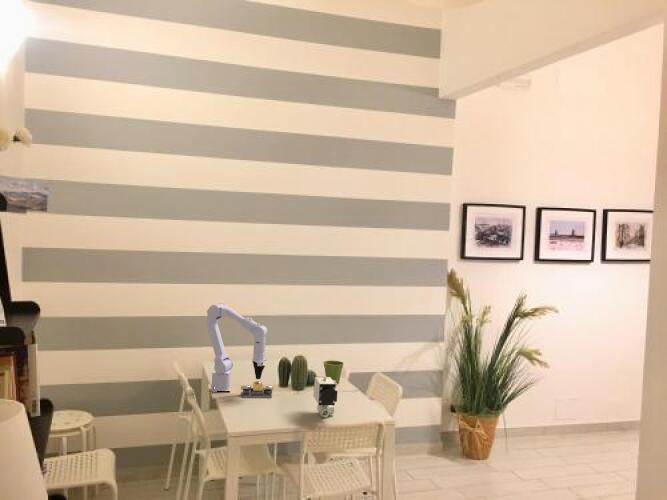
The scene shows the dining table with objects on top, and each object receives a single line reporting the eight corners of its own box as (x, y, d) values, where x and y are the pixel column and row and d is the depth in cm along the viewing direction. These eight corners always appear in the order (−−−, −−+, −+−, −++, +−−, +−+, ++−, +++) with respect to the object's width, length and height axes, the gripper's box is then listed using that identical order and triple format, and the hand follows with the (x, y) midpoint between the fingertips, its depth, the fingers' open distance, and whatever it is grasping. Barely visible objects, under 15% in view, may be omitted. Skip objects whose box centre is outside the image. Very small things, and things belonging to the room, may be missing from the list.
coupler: (253, 394, 301) (253, 383, 301) (252, 391, 305) (253, 380, 304) (262, 394, 302) (262, 383, 301) (261, 391, 305) (262, 381, 305)
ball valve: (337, 421, 269) (339, 381, 268) (318, 421, 267) (321, 381, 267) (329, 409, 287) (331, 371, 286) (312, 409, 285) (314, 371, 284)
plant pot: (343, 380, 341) (345, 361, 341) (342, 386, 329) (343, 365, 329) (323, 379, 342) (324, 359, 342) (320, 384, 330) (321, 364, 330)
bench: (241, 397, 297) (241, 388, 297) (240, 392, 307) (240, 383, 306) (273, 397, 300) (274, 388, 300) (272, 392, 310) (272, 383, 309)
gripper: (268, 353, 296) (266, 380, 296) (266, 347, 310) (264, 373, 311) (253, 353, 295) (252, 380, 295) (252, 346, 309) (250, 373, 309)
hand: (257, 377), depth 303 cm, fingers open, 7 cm apart
